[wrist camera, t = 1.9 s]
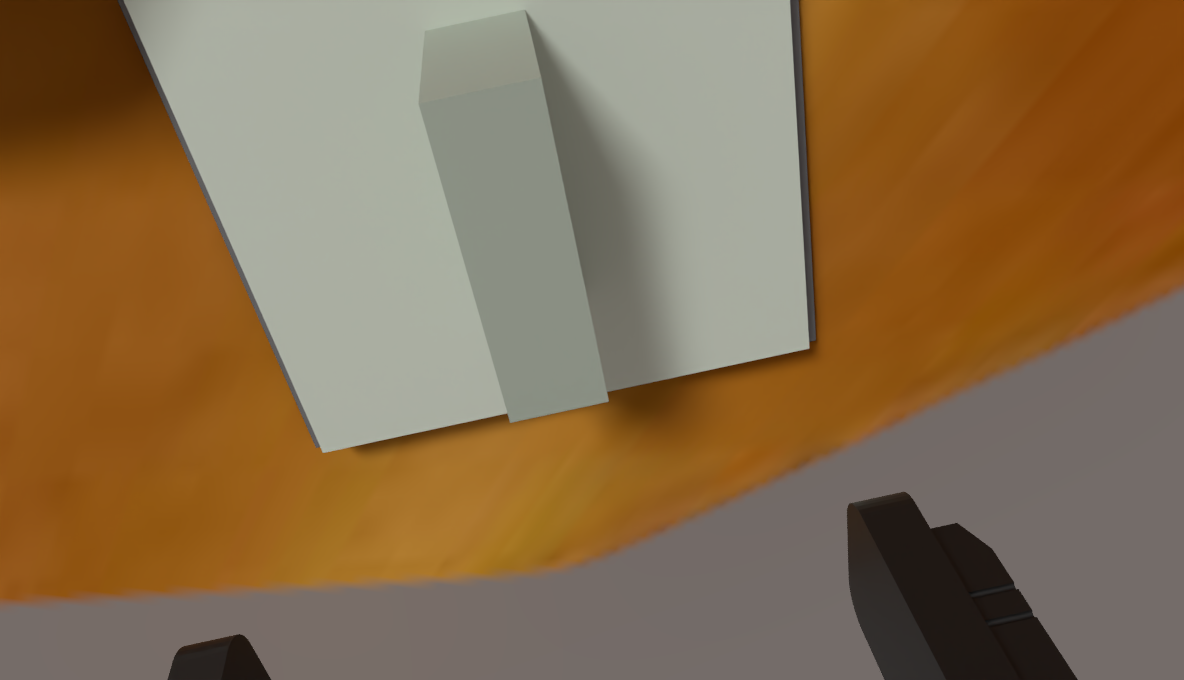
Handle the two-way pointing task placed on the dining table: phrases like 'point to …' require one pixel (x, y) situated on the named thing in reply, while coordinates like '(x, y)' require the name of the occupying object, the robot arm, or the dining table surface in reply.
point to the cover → (495, 193)
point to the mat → (802, 168)
